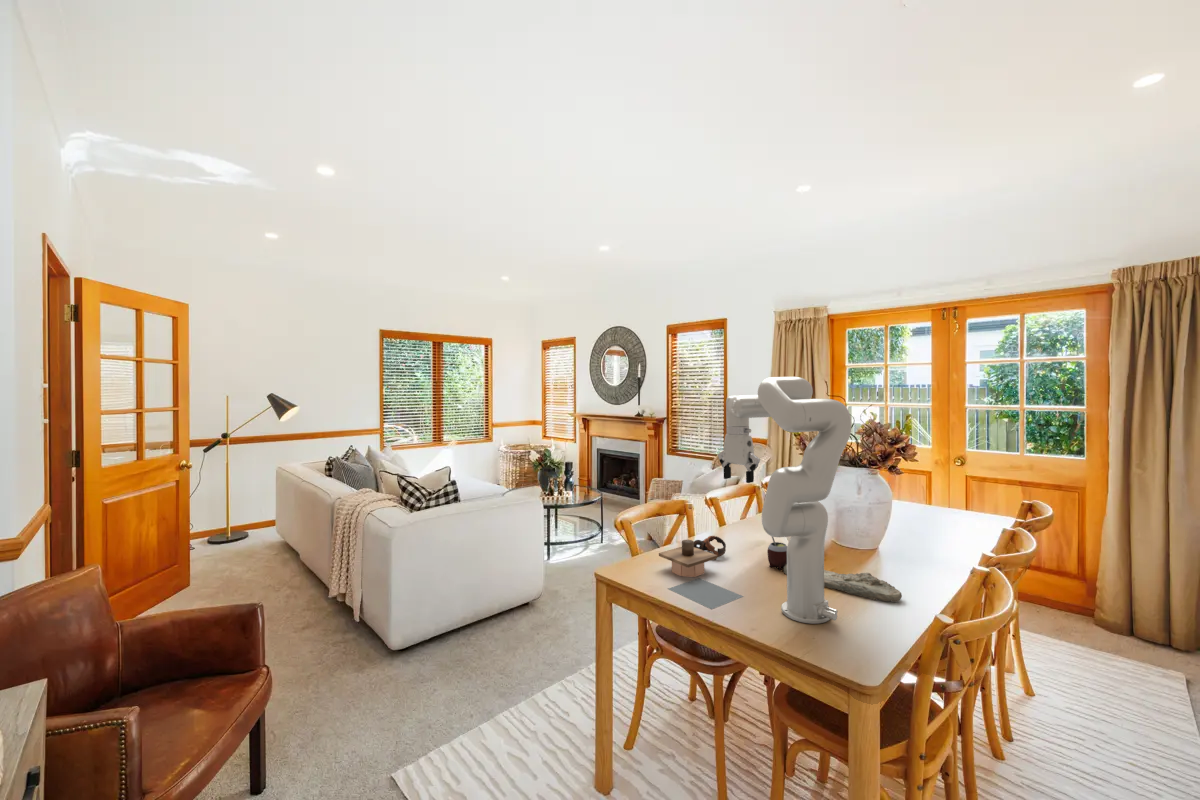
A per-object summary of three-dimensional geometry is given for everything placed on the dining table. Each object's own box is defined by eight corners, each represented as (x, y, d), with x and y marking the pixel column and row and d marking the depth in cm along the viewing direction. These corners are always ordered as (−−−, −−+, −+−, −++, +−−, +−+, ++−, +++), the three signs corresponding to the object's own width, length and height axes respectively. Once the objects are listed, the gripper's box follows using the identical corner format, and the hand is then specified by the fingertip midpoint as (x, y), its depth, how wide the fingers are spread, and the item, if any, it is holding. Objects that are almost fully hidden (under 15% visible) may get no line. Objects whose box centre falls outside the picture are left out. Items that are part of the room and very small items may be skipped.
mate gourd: (791, 571, 168) (791, 527, 167) (767, 570, 168) (767, 527, 168) (785, 563, 175) (785, 521, 175) (762, 563, 176) (762, 521, 176)
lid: (717, 558, 167) (717, 542, 167) (688, 567, 159) (687, 551, 159) (687, 547, 179) (687, 532, 179) (658, 556, 171) (658, 540, 171)
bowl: (710, 572, 168) (710, 557, 168) (688, 580, 162) (687, 565, 162) (687, 563, 177) (687, 549, 177) (665, 570, 171) (665, 556, 170)
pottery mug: (717, 551, 191) (725, 535, 187) (722, 570, 182) (730, 554, 179) (687, 544, 190) (695, 529, 186) (691, 563, 181) (699, 547, 178)
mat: (743, 597, 148) (743, 596, 148) (711, 610, 140) (711, 609, 140) (699, 579, 162) (699, 577, 162) (667, 590, 154) (667, 588, 154)
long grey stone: (792, 571, 172) (778, 581, 165) (790, 556, 171) (777, 565, 165) (906, 595, 146) (896, 608, 139) (905, 578, 146) (894, 590, 139)
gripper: (765, 432, 166) (766, 482, 167) (725, 429, 181) (726, 475, 181) (751, 433, 162) (752, 485, 163) (711, 430, 176) (712, 478, 177)
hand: (738, 480), depth 172 cm, fingers open, 9 cm apart
